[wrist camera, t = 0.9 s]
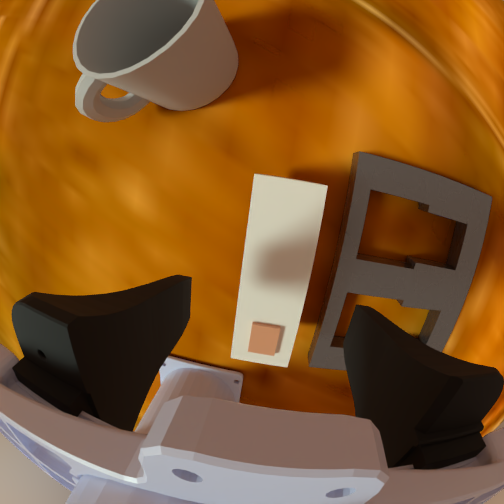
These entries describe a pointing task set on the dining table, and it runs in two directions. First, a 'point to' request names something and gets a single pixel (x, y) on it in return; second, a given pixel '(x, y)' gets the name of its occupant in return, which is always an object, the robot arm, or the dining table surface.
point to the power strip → (276, 267)
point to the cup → (152, 56)
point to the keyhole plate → (414, 269)
